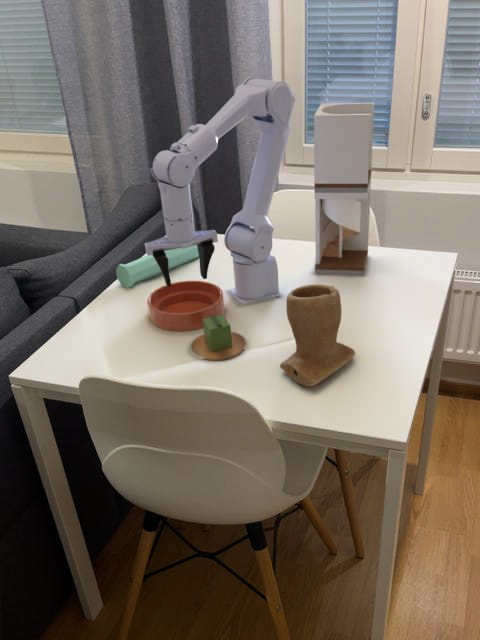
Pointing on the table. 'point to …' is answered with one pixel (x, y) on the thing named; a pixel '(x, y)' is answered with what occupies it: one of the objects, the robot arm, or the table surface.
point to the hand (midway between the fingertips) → (186, 280)
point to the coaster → (204, 351)
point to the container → (152, 265)
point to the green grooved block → (217, 333)
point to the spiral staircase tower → (342, 186)
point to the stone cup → (315, 334)
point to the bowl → (184, 305)
